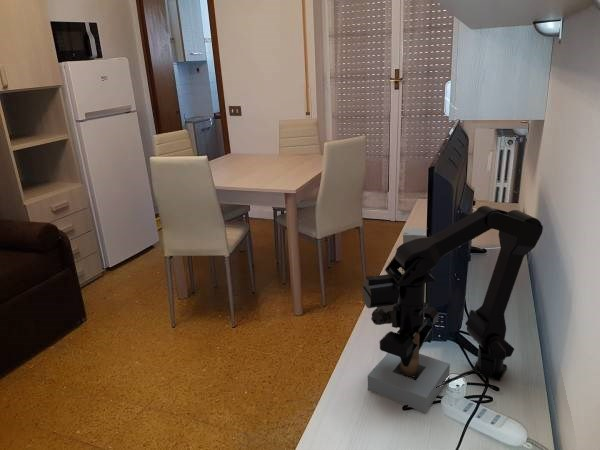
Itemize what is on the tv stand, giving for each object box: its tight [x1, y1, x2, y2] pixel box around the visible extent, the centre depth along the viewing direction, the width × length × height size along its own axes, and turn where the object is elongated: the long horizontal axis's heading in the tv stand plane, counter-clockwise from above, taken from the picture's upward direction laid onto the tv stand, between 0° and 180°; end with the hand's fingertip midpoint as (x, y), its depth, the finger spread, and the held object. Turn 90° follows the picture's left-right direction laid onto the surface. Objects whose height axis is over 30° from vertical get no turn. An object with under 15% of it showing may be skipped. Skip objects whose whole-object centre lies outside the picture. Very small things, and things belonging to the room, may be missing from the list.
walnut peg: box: [401, 333, 420, 378], centre depth 106 cm, size 4×4×10 cm
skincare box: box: [402, 227, 427, 244], centre depth 162 cm, size 8×7×16 cm
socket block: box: [367, 352, 451, 414], centre depth 108 cm, size 14×14×4 cm
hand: (409, 360), depth 106 cm, fingers closed on walnut peg, 4 cm apart
